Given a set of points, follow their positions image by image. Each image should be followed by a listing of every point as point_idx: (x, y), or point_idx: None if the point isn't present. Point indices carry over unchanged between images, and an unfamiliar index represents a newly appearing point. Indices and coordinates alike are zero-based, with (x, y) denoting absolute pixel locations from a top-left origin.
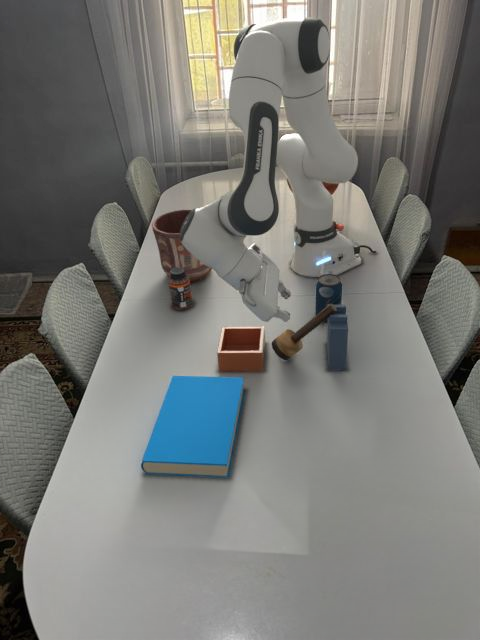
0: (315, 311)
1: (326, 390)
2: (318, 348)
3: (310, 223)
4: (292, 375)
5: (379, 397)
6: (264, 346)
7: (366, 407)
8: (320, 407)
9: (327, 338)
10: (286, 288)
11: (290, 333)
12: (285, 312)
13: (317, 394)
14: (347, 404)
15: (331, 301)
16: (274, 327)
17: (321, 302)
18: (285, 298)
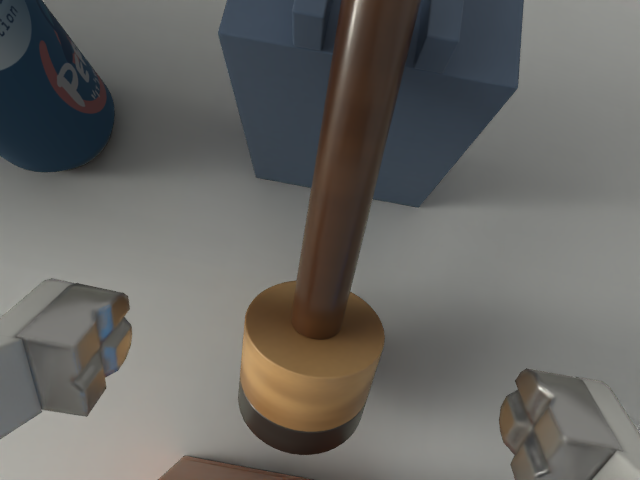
0: (28, 163)
1: (533, 243)
2: (272, 215)
3: None
4: (433, 358)
5: (576, 84)
6: (242, 477)
7: (623, 135)
8: (624, 285)
9: (287, 158)
10: (4, 327)
11: (284, 337)
12: (633, 450)
13: (554, 280)
14: (608, 189)
15: (53, 46)
16: None
17: (29, 101)
18: (122, 355)
